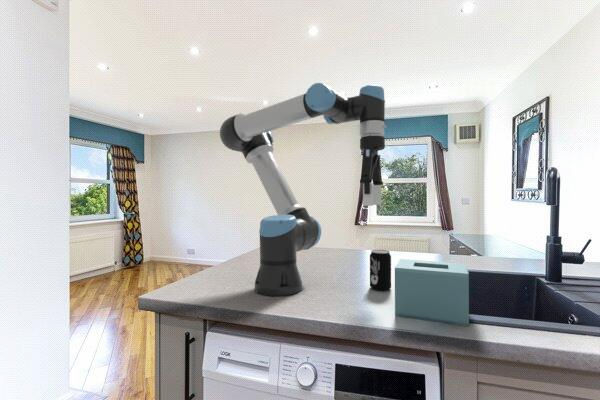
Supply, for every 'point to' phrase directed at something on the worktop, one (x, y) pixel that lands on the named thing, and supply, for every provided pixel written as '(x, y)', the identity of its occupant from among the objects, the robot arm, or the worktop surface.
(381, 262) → the beverage can
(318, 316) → the worktop surface
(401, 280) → the coin box
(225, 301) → the worktop surface
